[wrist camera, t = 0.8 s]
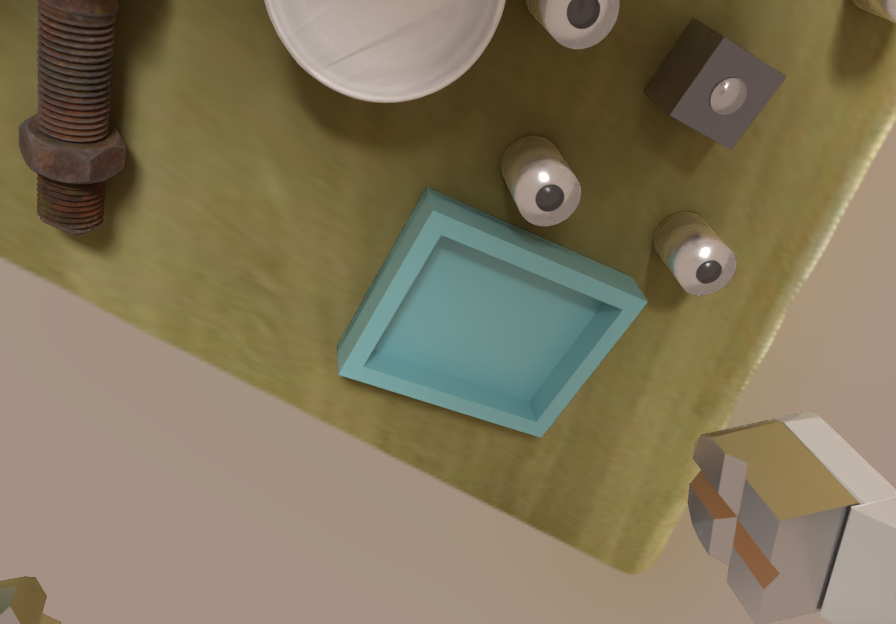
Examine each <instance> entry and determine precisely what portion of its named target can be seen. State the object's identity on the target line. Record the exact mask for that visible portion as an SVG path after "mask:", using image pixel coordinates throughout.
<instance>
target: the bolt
mask: <svg viewBox="0 0 896 624" xmlns="http://www.w3.org/2000/svg"><path fill="white" fill-rule="evenodd" d="M38 2H39V4H38V10H39V13H38V18H39V20H38V25H39V27H38V32H39V34H38V39H39V41H38V47H39V49H38V51H37V52H38V55H39V56H38V58H37V60H38V65H37V66H38V68H39V69H38V78H37V79H38V81H39V83H38V95H39V96H38V101H39V102H38V108H39V109H38V114H35V115H33V116H32V117H30V118H28V119H27V120H26V121H24V122H23V123H22V124H20V125H19V147H20V150H21V153H22V156H23V158H24V160H25V162H26V164H27V165H28V166H29V168H30V169H31V170H33V171H34V172H36V173H37V174H38V177H37V180H38V183H37V186H38V188H37V191H38V194H37V197H38V198H37V214H38V215H39V216H40V220H41V221H43V222H44V223H46V224H48V225H51V226H53V227H56V228H58V229H61V230H63V231H66V232H68V233H71V234H74V235H77V234H83V233H86V232H89V231H92V230H91V229H96V228H98V227H99V226H100V225H101V224H102V222H103V215H104V212H103V210H104V207H103V206H104V198H105V197H104V194H105V191H104V190H105V180H107V179H109V178H111V177H113V176H114V175H116V174H117V173H118V172H119V171H120V170H121V169H123V168H124V167H125V154H126V147H125V144H124V142H123V139H122V137H121V135H120V134H119V132H118V130H117V129H116V128H115V127H114V126H112V125H111V124H110V123H109V119H110V117H109V114H110V109H109V108H110V101H111V98H110V94H111V90H110V89H111V81H112V78H111V76H112V68H113V66H112V61H113V57H112V56H113V48H114V44H113V43H114V33H115V30H114V28H115V20H116V13H117V11H118V7H119V0H38ZM90 228H91V229H90Z"/></svg>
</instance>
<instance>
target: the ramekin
mask: <svg viewBox="0 0 896 624" xmlns="http://www.w3.org/2000/svg"><path fill="white" fill-rule="evenodd" d="M505 1H506V0H264V2H265V5H266V9H267V11H268V14H269V17H270V19H271V22H272V24H273V26H274V28H275V30H276V32H277V34H278V36H279V38H280V39H281V41H282V42H283V44H284V46H285V47H286V49H287V50H288V51H289V53H290V54H291V55H292V57H293V58H294V59H295V61H296V62H297V63H298V64H299V65H300V66H301V67H302V68H303V69H304V70H305V71H306V72H308V73H309V74H310V75H311V76H312V77H314V78H315V79H316V80H318V81H319V82H321V83H322V84H324V85H325V86H327V87H329V88H331V89H333V90H334V91H336V92H339V93H341V94H343V95H346V96H349V97H351V98H355V99H359V100H363V101H368V102H377V103H395V102H404V101H410V100H414V99H418V98H421V97H424V96H427V95H430V94H432V93H434V92H437V91H439V90H441V89H443V88H444V87H446V86H448V85H449V84H451V83H452V82H453V81H455V80H457V79H458V78H459V77H460V76H462V75H463V74H464V73H465V72H466V71H467V70H468V69H469V68H470V67H471V66H472V65H473V64H474V63H475V62H476V61H477V60H478V58H479V57H480V56H481V54H482V53H483V51H484V50H485V48H486V47H487V45H488V44H489V42H490V40H491V39H492V37H493V35H494V33H495V31H496V29H497V26H498V24H499V22H500V19H501V16H502V13H503V10H504V6H505Z"/></svg>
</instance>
